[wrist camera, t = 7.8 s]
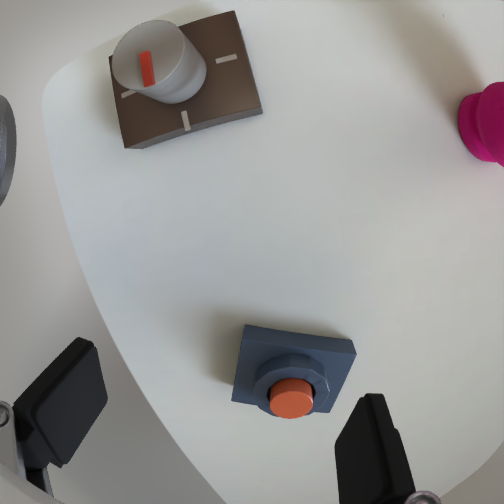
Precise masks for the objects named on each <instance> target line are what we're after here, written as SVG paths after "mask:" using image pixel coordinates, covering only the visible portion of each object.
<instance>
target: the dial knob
mask: <svg viewBox="0 0 504 504" xmlns="http://www.w3.org/2000/svg"><path fill="white" fill-rule="evenodd" d="M112 71H113V74H114V77H115V79H116V80H117V81H118V83H120V84H121V85H122V86H124V87H126V88H128V89H131V90H133V91H136V92H138V93H141V94H143V95H146V96H148V97H150V98H153V99H155V100H157V101H160V102H163V103H167V104H174V103H180V102H183V101H185V100H187V99H189V98H190V97H192V96H193V95H194V94H196V93H197V92H198V90H199V89H200V88H201V86H202V85H203V83H204V81H205V77H206V71H207V68H206V63H205V60H204V58H203V57H202V55H201V54H200V53H199V52H198V50H197V49H196V48H195V47H194V46H193V44H192V43H191V42H190V41H189V40H188V38H187V37H186V36H185V35H184V34H183V32H182V31H181V30H180V29H179V28H178V27H177V26H176V25H174V24H173V23H171V22H168V21H163V20H153V21H148V22H145V23H142V24H140V25H138V26H136V27H134V28H133V29H131V30H130V31H129V32H128V33H127V34H126V35H125V36H124V37H123V38H122V39H121V40H120V42H119V43H118V45H117V47H116V49H115V51H114V54H113V57H112Z"/></svg>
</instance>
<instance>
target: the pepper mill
mask: <svg viewBox="0 0 504 504" xmlns="http://www.w3.org/2000/svg"><path fill="white" fill-rule="evenodd" d="M458 124H459V129H460V133H461V136H462V139H463V141H464V143H465V145H466V146H467V148H468V150H469V151H470V152H471V153H472V154H473V155H474V156H475V157H477V158H478V159H480V160H482V161H488V162H497V163H499V164H500V165H501V166H503V167H504V82H495V83H492V84H490V85H489V86H487V87H486V88H485V89H484V91H483V92H479V93H475V94H471V95H469V96H467V97H466V98H465V99H464V100H463V101H462V103H461V105H460V109H459V113H458Z"/></svg>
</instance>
